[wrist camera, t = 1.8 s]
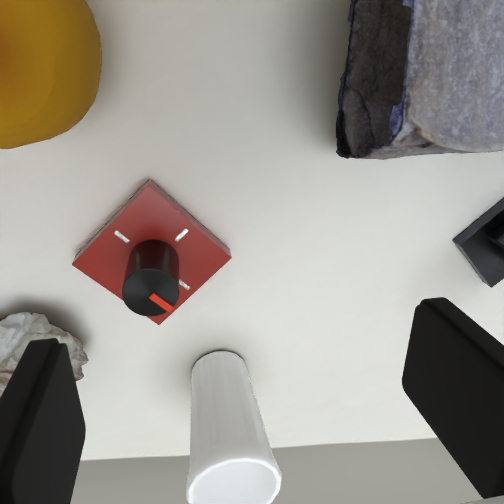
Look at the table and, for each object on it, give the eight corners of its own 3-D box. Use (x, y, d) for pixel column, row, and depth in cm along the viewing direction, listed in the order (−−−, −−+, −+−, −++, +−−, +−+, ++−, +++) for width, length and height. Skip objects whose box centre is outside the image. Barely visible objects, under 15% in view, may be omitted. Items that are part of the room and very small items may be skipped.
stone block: (449, -42, 33) (460, 145, 37) (308, -9, 34) (333, 169, 38) (616, -210, 17) (604, 152, 21) (340, -138, 18) (377, 193, 22)
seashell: (29, 283, 35) (27, 404, 30) (106, 311, 43) (114, 410, 38) (-88, 343, 38) (-107, 459, 33) (3, 358, 46) (-1, 454, 41)
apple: (21, -83, 27) (-94, -183, 15) (148, 52, 31) (132, 52, 20) (-76, 43, 29) (-241, 38, 17) (57, 153, 33) (-5, 205, 22)
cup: (168, 381, 46) (165, 507, 33) (210, 330, 44) (225, 444, 31) (226, 406, 49) (244, 530, 36) (268, 360, 47) (302, 474, 34)
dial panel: (76, 254, 37) (70, 265, 36) (149, 178, 36) (148, 185, 34) (159, 313, 42) (159, 326, 40) (229, 248, 40) (232, 258, 38)
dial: (118, 263, 36) (108, 297, 31) (151, 229, 35) (147, 259, 30) (156, 290, 38) (153, 328, 33) (188, 259, 37) (191, 293, 32)
